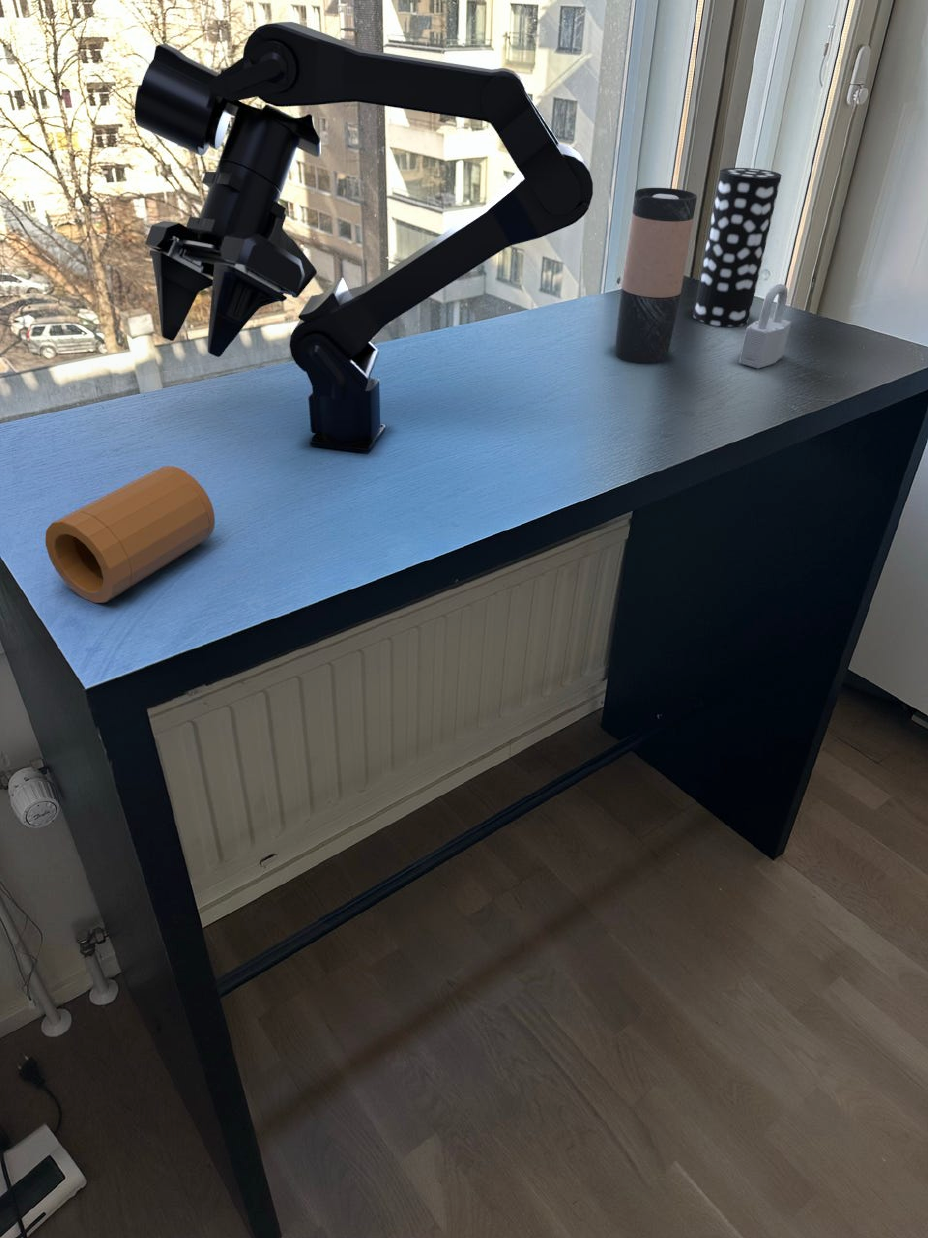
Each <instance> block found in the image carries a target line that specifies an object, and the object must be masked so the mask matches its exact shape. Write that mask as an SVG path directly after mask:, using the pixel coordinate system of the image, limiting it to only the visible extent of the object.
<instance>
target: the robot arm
mask: <svg viewBox="0 0 928 1238" xmlns="http://www.w3.org/2000/svg"><path fill="white" fill-rule="evenodd" d="M154 49H155V50H154V53H153V58H152V60H151V62H150V63H149V65H148V66H147V69H146V71H145V73H144V76H143V78H142V81H141V84H140V85H138V86H137V90H136V95H135V100H134V101H135V102H134V121H135V123H136V125H137V126H138V127H139V128H142V129H144V130H146V131H148V132H150V133H152V134H154V135H156V136H158V137H160V138H162V139H165V140H166V141H169V142H171V143H174V144H175V145H178V146H179V147H181V148H184V149H186V150H188V151H190V152H192V153H194V154H196V155H198V156H201V157H202V156H204V155H205V154H206V153H207V151H208V150H209V148H211V149H213V150H219V149H220V148H221V146H222V144H223V142H224V140H225V137H226V134H227V131H228V127H229V124H230V121H231V118H232V117H234V118H233V121H232V123H231V126H230V129H229V132H228V134H227V137H226V140H225V143H224V146H223V149H222V152H221V154H220V157H219V160H218V164H217V165H216V169H215V171H205V172H204V175H203V177H202V181H201V183H202V184H203V185H205V186H206V187H207V188H209V189H208V191H207V194H206V196H205V199H204V202H203V205H202V208H201V211H200V213H199V216H198V217H197V216H196V217H195V216H189V217H188V219H187V223H186V226H185V225H184V224H182V223H180V222H175V221H168V220H162V221H159V222H157V223H154V224H151V225H150V228H149V231H148V234H147V237H146V240H145V243H144V245H145V246H147V247H148V248H150V249H149V252H148V256H149V257H150V258H151V260H152V268H153V273H154V280H155V286H156V295H157V303H158V304H157V305H158V314H159V323H160V324H159V325H160V331H161V332H160V334H161V337H162V338H163V339H166V340H168V341H171V342H174V341H175V339H176V337H177V336H178V334H179V332H180V330H181V329H182V327H183V325H184V323H185V321H186V319H187V317H188V315H189V312H190V310H191V309H192V307H193V305H194V303H195V300H196V299H197V296H198V295H199V293H200V292H202V291H204V290H206V289H208V288H210V287H211V297H210V309H209V310H210V311H209V319H208V320H209V321H208V331H207V353H208V354H210V355H212V356H213V357H217V358H220V357H222V355H223V354H224V352H225V351H226V350H227V349H228V348H229V346H230V345H231V343H232V342H233V341H234V340H235V338H236V337H237V336H238V335H239V334H240V332H241V331H242V330H243V328H244V327H245V326H246V325H247V324H248V322H249V321H250V320H251V319H252V317H254V315H255V314H256V313H257V312H258V311H259V309H261V308H262V307H264V306H265V307H266V306H268V305H271V304H274V303H277V302H281V303H283V302H285V301H286V300H287V299H288V297H287V296H286V295H289V296H291V297H292V298H294V299H298V298H299V296H300V295H301V294H302V293H303V291H304V290H305V289H306V288H307V287H308V285H310V283H311V282H312V280H313V279H314V278H315V276H316V275H318V271H317V269H316V267H315V266H314V264H313V263H312V262H311V260H310V259H309V258H308V257H307V255H306V254H305V253H304V251H303V250H302V249H301V247H300V246H299V245H298V244H297V242H296V241H295V240H294V239H293V238H292V237H291V236H290V235H289V234H288V233H287V232H286V230H284V223H285V221H286V218H287V213H286V210H287V208H286V207H285V206H284V205H282V204H281V203H279V201H280V198H281V195H282V192H283V190H284V188H285V185H286V181H287V179H288V176H289V173H290V171H291V169H292V165H293V162H294V160H295V157H296V154H297V151H298V149H299V150H301V151H303V152H305V153H307V154H309V155H312V156H313V157H316V158H318V157H320V156H321V154H322V149H321V147H322V144H321V143H322V142H321V137H320V136H319V134H318V132H317V130H316V127H315V123H314V116H313V115H312V114H311V113H308V114H306V115H304V116H300V117H294V116H292V115H291V114H288V113H286V112H284V111H282V110H279V109H278V108H279V107H280V108H286V107H287V108H288V107H304V106H305V107H306V106H308V107H309V106H321V105H332V104H341V103H361V104H362V103H363V104H370V105H375V106H376V105H377V106H383V107H389V108H395V109H403V110H409V111H415V112H422V113H428V114H435V115H441V116H442V115H443V116H449V117H455V118H461V119H466V120H467V119H468V120H473V121H480V122H481V121H482V122H486V123H488V124H490V126H492V128H493V130H494V131H495V133H496V134H497V136H498V138H499V139H500V141H501V142H502V144H503V146H504V148H505V149H506V151H507V153H508V154H509V156H510V157H511V159H512V161H513V163H514V164H515V166H516V168H517V169H518V171H517V172H516V173H514V174H513V176H512V177H511V178H510V179H509V180H508V181H506V183H505V184H504V186H502V187H501V189H500V190H499V191H498V192H497V193H496V194H495V195H494V196H493V198H492V199H491V200H489V202H487V204H485V205H484V206H482V207H481V208H479V209H478V210H476V211H475V212H473V213H472V214H470V215H468V216H467V217H466V218H464V219H463V220H461V221H460V222H459V223H456V224H455V225H454V226H452V227H451V228H449V229H448V230H446V231H445V232H443V233H442V234H440V235H438V236H437V237H436V238H434V239H433V240H431V241H430V242H428V243H426V244H425V245H424V246H421V248H419V249H418V250H416V251H415V252H413V253H412V254H410V255H409V256H407V257H406V258H404V259H403V260H401V261H400V262H398V263H397V264H395V265H394V266H391V268H389V269H388V270H385V272H383V273H382V274H380V275H379V276H377V277H376V278H374V279H373V280H371V281H370V282H368V283H366V284H363V285H360V286H356V287H353V288H348V286H347V282H346V281H345V279H344V277H342V276H341V277H340V278H338V279H337V280H336V281H335V282H334V283H333V284H332V285H331V286H330V287H329V288H328V289H326V291H323V292H322V293H320V294H315V295H311V296H310V298H309V299H308V300H307V302H306V304H305V305H304V306H303V309H302V310H301V311H300V312H299V315H298V320H299V321H298V322H297V324H296V325H295V327H294V329H293V331H292V332H291V334H290V336H289V337H290V338H289V350H290V351H289V352H290V355H291V358H292V359H293V361H294V363H295V364H296V365H297V366H298V368H300V370H302V371H303V372H304V373H306V375H307V377H308V379H309V382H310V385H311V388H312V390H311V391H312V392H311V393H310V394H309V396H308V409H309V411H308V412H309V424H310V432H311V433H312V434H313V435H312V436H311V437H310V439H309V445H310V446H313V447H320V448H327V449H334V450H341V451H348V452H349V451H350V452H357V453H370V452H371V450H372V449H373V448H374V446H375V444H376V443H377V442H378V441H379V439H380V438H381V437H382V435H383V434H384V433H385V431H386V425H385V424H382V423H381V397H380V393H381V391H380V379H378V378H372V377H371V376H372V372H373V370H374V367H375V364H376V362H377V359H378V356H379V349H378V348H377V347H376V346H375V345H374V344H373V343H372V342H371V341H372V340H373V339H374V338H375V337H376V336H377V334H378V333H379V332H380V331H381V330H382V329H383V328H384V327H385V326H387V325H388V324H390V323H391V322H393V321H394V320H395V319H397V318H399V317H400V316H402V315H403V314H405V313H407V312H408V311H410V310H411V309H414V307H416V306H418V305H420V304H421V303H422V302H424V301H425V300H428V298H430V297H432V296H433V295H434V294H437V293H438V292H439V291H441V290H443V289H444V288H445V287H447V286H448V285H450V284H452V283H454V282H455V281H457V280H458V279H459V278H462V277H463V276H464V275H466V274H468V273H469V272H471V271H472V270H473V269H475V268H477V267H479V266H480V265H482V264H483V263H485V262H486V261H487V260H489V259H491V258H493V257H494V256H496V255H497V254H499V253H500V252H501V251H504V250H505V249H507V248H509V247H512V246H515V245H518V244H522V243H526V242H530V241H533V240H537V239H540V238H541V239H542V238H543V237H545V236H548V235H550V234H553V233H555V232H557V231H560V230H562V229H565V228H567V227H570V226H572V225H574V224H576V223H577V222H578V221H579V220H581V218H583V217H584V216H585V214H586V213H587V211H588V210H589V208H590V205H591V202H592V199H593V195H594V182H593V179H592V175H591V172H590V170H589V168H588V166H587V165H588V164H586V163H587V162H586V160H585V159H584V158H583V156H582V155H581V153H580V152H578V151H577V150H575V149H574V148H573V147H572V146H568V145H565V144H560V142H559V141H558V139H557V138H556V136H555V134H554V133H553V131H552V130H551V128H550V126H549V125H548V124H547V122H546V120H545V119H544V117H543V115H542V114H541V112H540V111H539V110H538V108H537V107H536V105H535V104H534V102H533V100H532V99H531V97H530V96H529V94H528V92H527V91H526V88H525V83H524V82H523V80H522V78H521V76H520V75H519V74H518V73H516V72H515V71H514V70H512V69H510V68H506V67H499V68H493V69H491V68H485V67H480V66H479V67H478V66H471V65H465V64H459V63H453V62H446V61H441V60H440V61H439V60H433V59H426V58H421V57H415V56H414V57H413V56H407V55H401V54H395V53H389V52H388V53H387V52H382V51H375V50H369V49H364V48H361V47H359V46H355V45H353V44H351V43H348V42H346V41H344V40H342V39H339V38H337V37H336V36H335V37H334V36H332V35H330V34H327V33H324V32H322V31H320V30H316V29H314V28H311V27H308V26H306V25H303V24H300V23H297V22H294V21H281V22H280V21H279V22H273V23H272V22H271V23H266V24H263V25H260V26H258V27H257V28H256V29H254V31H253V32H252V33H251V34H250V35H249V36H248V38H247V40H246V42H245V44H244V47H243V52H242V53H243V54H242V57H241V58H240V59H238V60H237V61H236V62H235V63H233V64H231V65H230V66H227V67H223V68H221V70H220V72H217V71H215V70H214V69H211V68H210V67H208V66H205V65H204V64H202V63H199V62H198V61H196V60H194V59H192V58H190V57H188V56H186V55H185V54H184V53H183V52H182V51H181V50H179V49H177V48H175V47H173V46H171V45H169V44H167V43H162V44H158V45H155V48H154ZM254 98H258V99H260V100H261V101H262V102H264V103H265V105H264V106H263V107H262V108H259V107H255V106H252V105H250V104H247V103H245V102H243V100H248V99H254ZM276 107H278V108H276Z"/></svg>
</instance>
